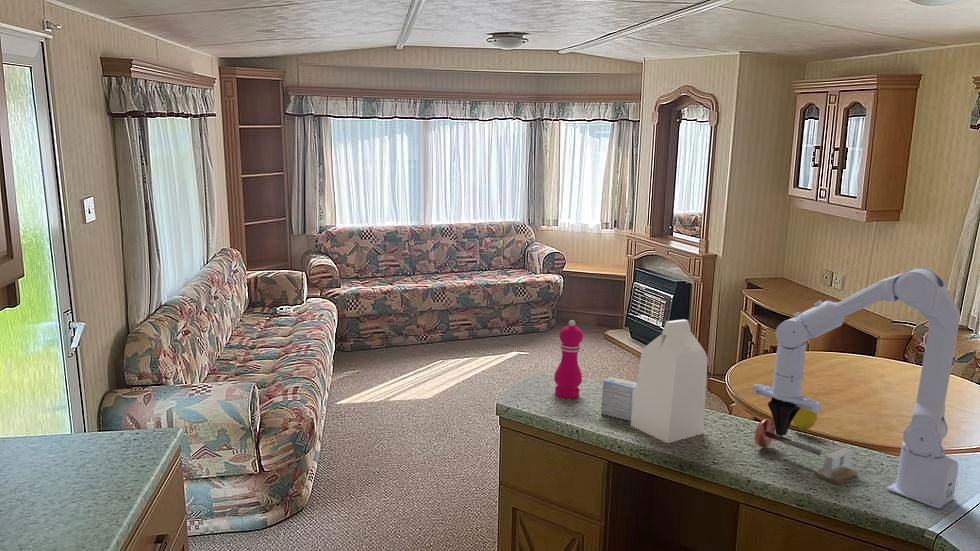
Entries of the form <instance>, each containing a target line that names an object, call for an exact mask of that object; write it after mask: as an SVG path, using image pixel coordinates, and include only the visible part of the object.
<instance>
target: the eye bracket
mask: <svg viewBox="0 0 980 551" xmlns="http://www.w3.org/2000/svg"><path fill="white" fill-rule="evenodd" d="M852 454H853V449H852V448H848V447H846V446H845V447H842V448H840V449H838V450H835V451H833V452H831V453H828V454H826V455H825V456H824V461H823V467H822V468H820V469H818V470H816V471H814V474H813V476H814V477H816V478H820V479H822V480H825V481H827V482H831V483H833V484H835V485H837V486H840V485H841V484H843V483H846V482H847V481H849V480H851V479H853V478H856V477H857V476H858V473H859V472H858V471H857V470H854V469H851V461H852Z"/></svg>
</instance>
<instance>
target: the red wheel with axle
mask: <svg viewBox="0 0 980 551" xmlns="http://www.w3.org/2000/svg"><path fill="white" fill-rule="evenodd" d="M774 440H775V441H778V442H780V443H783V444H786V445H789V446H792V447H795V448H796V449H800V450H803V451H805V452H808V453H811V454H813V455H816V456H821V455H822V450H821V449H818V448H816V447H814V446H813V447H812V446H810V445H807V444H805V443H802V442H799V441H797V440H794V439H791V438H788V437H786V436H784V435H783V436H780V435H777V434H776V430H775V424H774V419H773V420H772V419H770V418H763V419H762V420H761V421H760V422H759V423H758V425H757V427H756V429H755V433H754V442H755V445H756V446H758V447H760V448H762V449H766V448H768V447H769V446H770V444H772V442H773V441H774Z"/></svg>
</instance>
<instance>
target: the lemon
mask: <svg viewBox="0 0 980 551" xmlns="http://www.w3.org/2000/svg"><path fill="white" fill-rule="evenodd" d="M817 418H818V412H817V413H813V412H811V411H810V410H807V409H804V408H801V409H800V410H799V411H798V412H797V414H796V415H795V417H794V418H793V420H792V423H793V425H794V427H796V428H798V429H799V430H800V432H801V431H802V432H804V431H805V430H809V429H811V428H813V427H814V425H815V424H816V423H817Z"/></svg>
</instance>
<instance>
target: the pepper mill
mask: <svg viewBox="0 0 980 551" xmlns="http://www.w3.org/2000/svg"><path fill="white" fill-rule="evenodd" d="M575 321H576V320H573V319H571V320H569V321H568V325H566V326H564V327H563V328H561V330H560V331H559V340H560V341H561V343H560V350H561V353H562V354H561V359H560V363H559V365H558V366H557V369H556V370H555V372H554V375H553V376H554V377H553V379H554V382H555V384H556V385H555V390H554V393H555V395H556V397H559V398H562V397H563V399H575V397H576V398H578V397H579V396H580V388H579V386H581V384H582V382H583V375H582V372H581V368H580V367H579V362H578V354H579V352H580V351H581V348H580V347H581V345H580V343H582V341H583V339H584V337H583V336H584V334H583V331H582V329H581V328H579V327H578V326H576V322H575Z"/></svg>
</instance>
